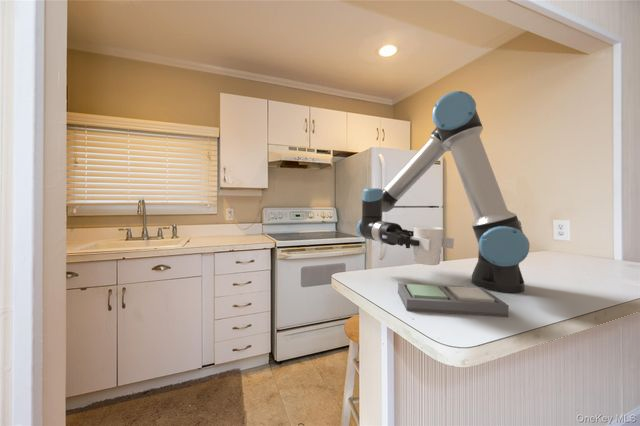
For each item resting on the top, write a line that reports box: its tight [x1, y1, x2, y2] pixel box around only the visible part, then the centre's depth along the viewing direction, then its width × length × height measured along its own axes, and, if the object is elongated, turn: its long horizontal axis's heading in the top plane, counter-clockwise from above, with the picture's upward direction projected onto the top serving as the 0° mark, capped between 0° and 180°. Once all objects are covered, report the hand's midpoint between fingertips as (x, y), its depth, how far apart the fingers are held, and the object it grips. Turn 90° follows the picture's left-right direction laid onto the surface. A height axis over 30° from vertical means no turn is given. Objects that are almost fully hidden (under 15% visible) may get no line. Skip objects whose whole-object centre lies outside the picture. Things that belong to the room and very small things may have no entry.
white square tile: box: [446, 285, 495, 302], centre depth 73 cm, size 9×9×1 cm
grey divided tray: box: [397, 282, 509, 318], centre depth 73 cm, size 25×13×3 cm, turn 83°
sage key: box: [406, 283, 448, 300], centre depth 74 cm, size 9×9×1 cm
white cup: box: [412, 225, 444, 266], centre depth 73 cm, size 8×8×10 cm
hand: (441, 244), depth 69 cm, fingers closed on white cup, 7 cm apart
